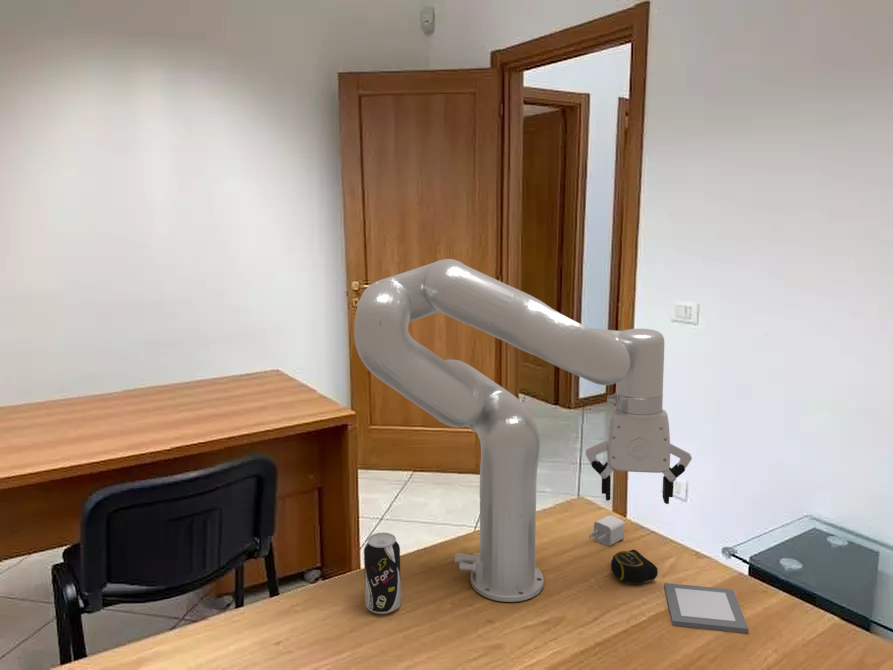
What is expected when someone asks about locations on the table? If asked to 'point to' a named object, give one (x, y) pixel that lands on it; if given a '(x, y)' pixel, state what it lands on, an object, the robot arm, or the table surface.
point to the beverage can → (382, 573)
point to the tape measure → (632, 567)
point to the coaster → (704, 608)
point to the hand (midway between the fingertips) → (636, 498)
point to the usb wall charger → (608, 530)
